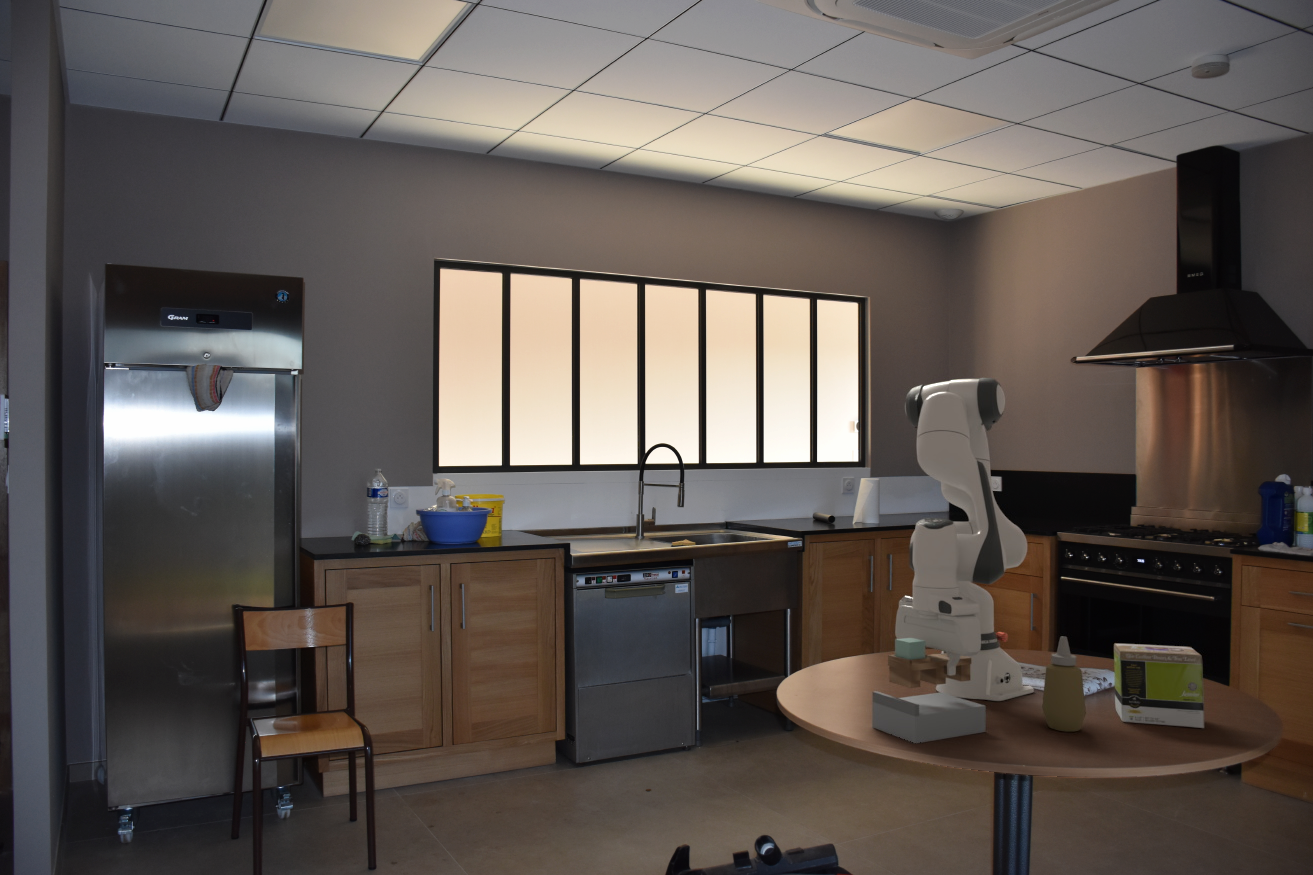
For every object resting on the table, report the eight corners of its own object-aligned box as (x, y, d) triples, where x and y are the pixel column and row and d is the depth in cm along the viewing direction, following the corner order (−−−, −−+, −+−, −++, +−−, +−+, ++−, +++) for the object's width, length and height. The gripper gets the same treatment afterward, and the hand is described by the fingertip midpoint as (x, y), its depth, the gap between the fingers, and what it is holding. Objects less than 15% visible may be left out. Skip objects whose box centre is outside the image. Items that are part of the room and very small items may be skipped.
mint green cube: (910, 658, 184) (910, 637, 184) (925, 661, 181) (925, 640, 181) (895, 659, 182) (895, 639, 183) (909, 663, 179) (909, 642, 179)
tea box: (1193, 717, 194) (1193, 645, 195) (1204, 730, 185) (1204, 654, 185) (1113, 710, 199) (1113, 640, 200) (1120, 722, 190) (1120, 649, 190)
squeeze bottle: (1083, 736, 180) (1082, 642, 180) (1038, 729, 184) (1038, 637, 184) (1088, 726, 186) (1088, 635, 187) (1045, 720, 191) (1045, 631, 191)
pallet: (949, 674, 190) (949, 648, 190) (971, 680, 185) (971, 653, 185) (888, 681, 183) (888, 655, 183) (909, 688, 177) (909, 660, 178)
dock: (940, 716, 193) (940, 682, 193) (985, 731, 182) (985, 695, 182) (872, 727, 185) (872, 691, 185) (915, 743, 174) (915, 705, 174)
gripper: (887, 595, 193) (887, 662, 192) (961, 608, 175) (962, 682, 174) (911, 593, 196) (911, 660, 195) (986, 606, 178) (986, 679, 177)
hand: (935, 671), depth 185 cm, fingers closed on pallet, 6 cm apart
